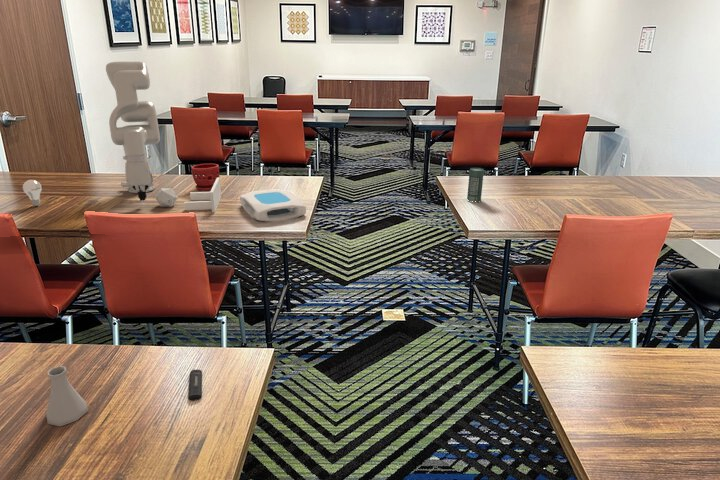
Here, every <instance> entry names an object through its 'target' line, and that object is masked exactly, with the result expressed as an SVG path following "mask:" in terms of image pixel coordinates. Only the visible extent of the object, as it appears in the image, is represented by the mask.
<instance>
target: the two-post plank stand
mask: <svg viewBox="0 0 720 480" xmlns="http://www.w3.org/2000/svg"><path fill="white" fill-rule="evenodd" d="M220 180H221V178H220V176H219V178H217V179H216V181H215V183H214V185H213V187H212V189H211V191H194V192H193V191H192V192H189V198H190V201H184V202H183V203H184V204H183V205H184V210H185V211H200V210H201V211H205V210H211V213H216V211H217V207H218V206H219V203H220V202H221V197H222V190H221V189H222V188H221V186H222V185H221V181H220Z"/></svg>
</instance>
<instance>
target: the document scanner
mask: <svg viewBox="0 0 720 480" xmlns="http://www.w3.org/2000/svg"><path fill="white" fill-rule="evenodd" d="M239 201H240V204H241V207H242V208H243V210H244V211H245V212H246V213H247V214H248V215H249V216H250V217H251V218H252V219H253V218H254V220H256V221H261V222H267V223H272V222H279V221H286V220H292V219H297V218H299V217H301V216H304V215H306V214H307V206H306V205H305V203H304V201H302V199H301V198H300V197H299V196H297V195H296V194H294V193H292V191H290V190H286V189H278V188H269V189H260V190H252V191H249V192H246V193H244V194H241V195H240V196H239ZM282 209H286V210H287V211H288V212H284V213H280V214H279V213H278V214H268V212H271V211H274V210H275V211H276V210H282Z"/></svg>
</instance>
